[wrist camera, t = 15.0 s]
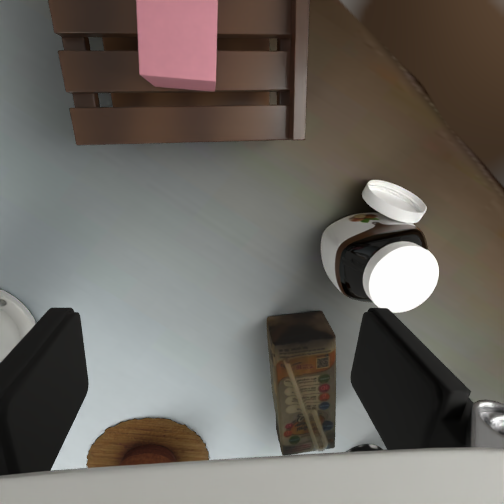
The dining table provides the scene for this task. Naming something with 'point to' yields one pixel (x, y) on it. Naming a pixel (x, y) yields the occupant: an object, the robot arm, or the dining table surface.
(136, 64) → the rack
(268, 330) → the beverage carton
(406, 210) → the spread jar
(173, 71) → the pink box
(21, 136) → the dining table surface
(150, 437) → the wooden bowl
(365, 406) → the robot arm
